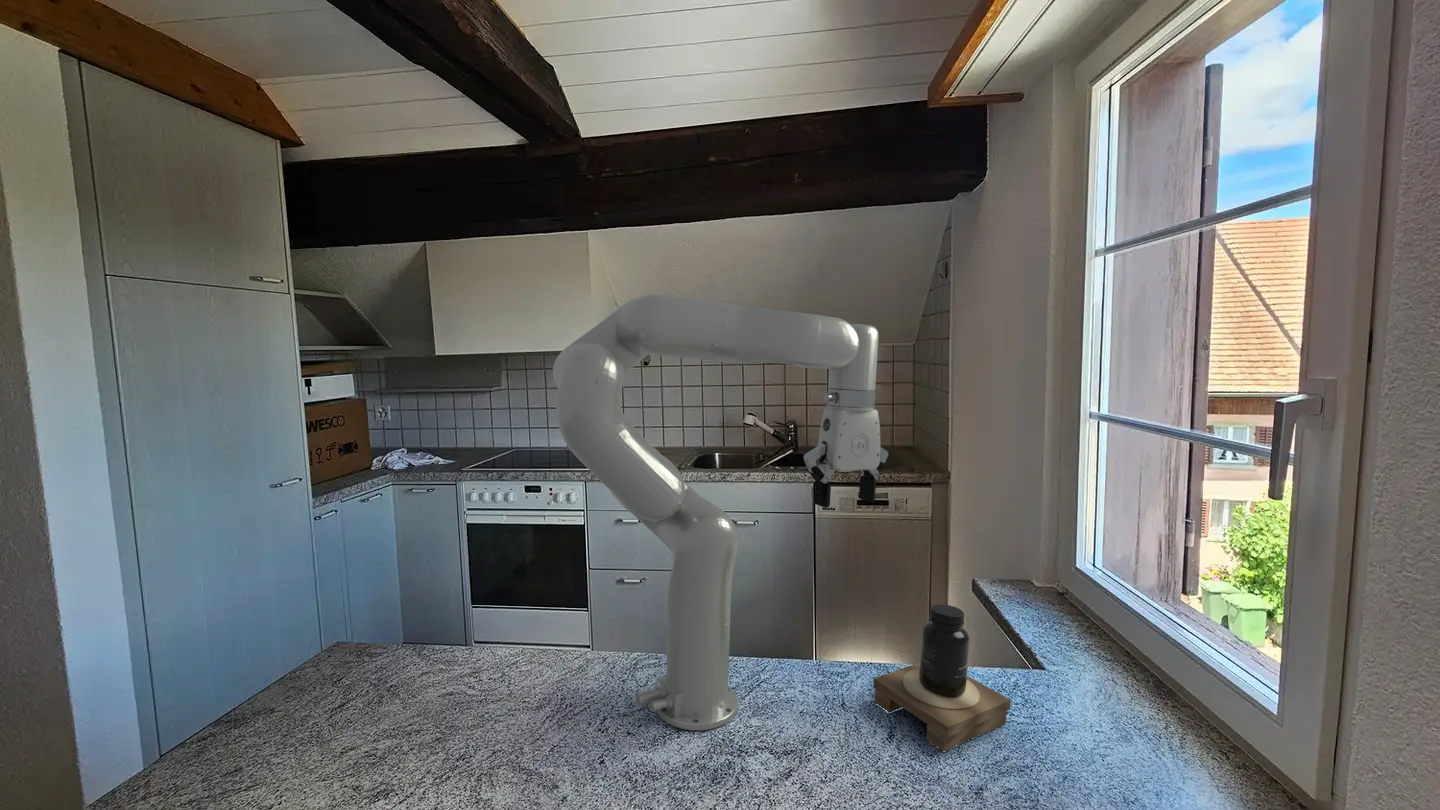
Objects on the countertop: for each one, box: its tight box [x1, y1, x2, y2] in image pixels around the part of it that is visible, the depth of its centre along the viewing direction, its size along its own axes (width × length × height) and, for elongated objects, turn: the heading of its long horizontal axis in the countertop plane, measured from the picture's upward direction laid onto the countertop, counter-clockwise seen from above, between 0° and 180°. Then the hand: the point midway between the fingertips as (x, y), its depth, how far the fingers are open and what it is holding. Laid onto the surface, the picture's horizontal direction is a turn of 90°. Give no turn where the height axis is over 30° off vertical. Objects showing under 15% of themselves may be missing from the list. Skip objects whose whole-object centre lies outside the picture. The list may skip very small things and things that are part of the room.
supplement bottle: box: [919, 603, 971, 697], centre depth 90 cm, size 7×7×12 cm
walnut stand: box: [872, 661, 1012, 752], centre depth 91 cm, size 14×14×4 cm
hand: (844, 503), depth 98 cm, fingers open, 9 cm apart
